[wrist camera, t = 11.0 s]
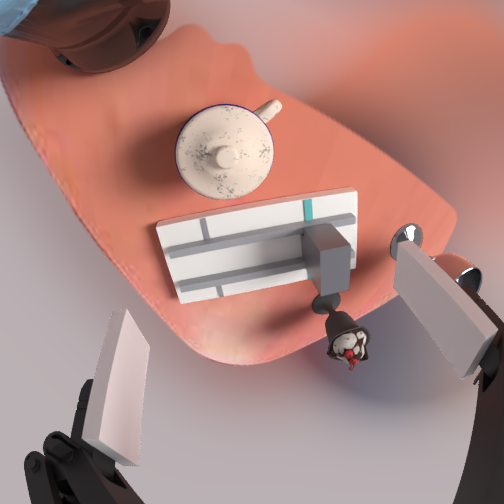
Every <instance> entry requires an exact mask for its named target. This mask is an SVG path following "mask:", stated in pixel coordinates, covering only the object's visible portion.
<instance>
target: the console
mask: <svg viewBox="0 0 504 504" xmlns="http://www.w3.org/2000/svg"><path fill="white" fill-rule="evenodd" d="M330 223H331V224H332V225H333V226H334V227H335V228H336V229H337V230H338V231H339V232H340V233H341V235H342V236H343V237H344V238H345V239H346V240H347V241H348V242H349V243H350V244H351V263H350V270H351V269H355V268H356V249H357V191H356V190H355V189H353V188H352V187H346V188H339V189H332V190H325V191H318V192H312V193H305V194H299V195H293V196H287V197H281V198H275V199H269V200H263V201H257V202H252V203H246V204H241V205H236V206H230V207H225V208H220V209H215V210H210V211H205V212H200V213H195V214H190V215H185V216H181V217H176V218H171V219H167V220H162V221H158V223H157V226H156V230H157V233H158V237H159V240H160V243H161V246H162V250H163V253H164V256H165V259H166V262H167V265H168V268H169V271H170V274H171V277H172V280H173V283H174V286H175V289H176V292H177V295H178V297H179V300H180V303H181V304H184V303H189V302H195V301H201V300H206V299H212V298H217V297H224V296H228V295H233V294H238V293H243V292H248V291H253V290H258V289H263V288H268V287H273V286H278V285H283V284H288V283H292V282H297V281H302V280H306V279H311V278H310V276H309V274H308V272H307V270H306V262H305V260H304V258H303V257H302V247H301V234H303V233H304V228H308V227H313V226H319V225H324V224H330Z"/></svg>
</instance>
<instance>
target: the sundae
mask: <svg viewBox="0 0 504 504" xmlns="http://www.w3.org/2000/svg"><path fill="white" fill-rule="evenodd" d="M339 304H340V295H339V294H338V293H333V294H329V295H325V296H320V294H319V295H318V296H317V297H316V298H315V300H314V302H313V310H314V311H315V312H316V313H318V314H328V313H329V316H328V318H327V320H326V322H325V327H326V333H327V336H328V339H329V343H330V344H329V347H328V352H327V355H328V356H329V357H330V358H332V359H335V360H343V361H345V362H346V363H349V364H350V365H351V367H350V368H349V369H350V370H351V371H352V370H353V368H354V366H353V365H356V363H357V362H359V361H363V360H367V359H368V358H369V357H368V353H367V350H366V346H367V344H368V343H369V342H370V339H371V335H370V332H369V330H368V329H367V328H366V327H363V326H360V327H359V326H358V325H357V324H356V322H355V321H354V320H353V319H352V318H351V317H350V316H349V315H348V314H347V313H346V312H344V311H337V312H336V311H335V309H336V308H337V307H338V306H339ZM352 366H353V368H352Z"/></svg>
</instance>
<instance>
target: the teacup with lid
mask: <svg viewBox="0 0 504 504" xmlns="http://www.w3.org/2000/svg"><path fill="white" fill-rule="evenodd" d="M281 108H282V105H281V103H280V102H279V101H278V100H276V99H273V100H270V101H268V102H266V103H265V104H263V105H262V106H260V107H259V108H257V109H256V110H255V111H254V112H252V111H250V110H248V109H246V108H244V107H241V106H238V105H232V104H219V105H214V106H210V107H207V108H205V109H203V110H201V111H199V112H197V113H196V114H194V115H193V116H192V117H191V118H190V119H189V120H188V121H187V122H186V123H185V124H184V126H183V127H182V129H181V131H180V133H179V135H178V137H177V141H176V145H175V161H176V165H177V169H178V171H179V173H180V175H181V177H182V179H183V180H184V181H185V183H186V184H187V185H188V186H189V187H190V188H191V189H193V190H194V191H195V192H197V193H199V194H201V195H203V196H205V197H208V198H212V199H217V200H229V199H235V198H239V197H242V196H244V195H246V194H248V193H250V192H251V191H253V190H254V189H256V188H257V187H258V186H259V185H260V184H261V183H262V182H263V181H264V179H265V178H266V176H267V175H268V173H269V171H270V169H271V166H272V163H273V158H274V144H273V139H272V136H271V133H270V131H269V129H268V127H267V126H266V123H267V122H268V121H269V120H271V119H272V118H273V117H274V116H275V115H276V114H277V113H278V112H279V111H280V110H281Z"/></svg>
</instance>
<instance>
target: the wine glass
mask: <svg viewBox="0 0 504 504" xmlns="http://www.w3.org/2000/svg"><path fill="white" fill-rule="evenodd" d="M407 240H412V241H413V242H414V243H415V244H416V245H417V246H418V247H419V248H421V245H422V242H423V232H422V229H421V228H420V227H419V226H418V225H417V224H407V225H405V226H403V227H402V228H400V229H399V230H398V231H397V233H396V234H395V235H394V237H393V239H392V242H391V246H390V252H391V255H392V257H393V259H394V260H397V250H398V243H399V242H403V241H407ZM429 257H430V258H431V259H432V260H433V261H434V262H435V263H436V264H437V265H439V266H440V267H441V268H442V269H443V270H444V271H445V272H446V273H447V274H448V275H449V276H450V277H451V278H452V279H453V280H454V281H455V282H456V283H457V284H458V285H459V286H462V285H466V286H467V287H469V288H471V289H473V290H474V291H475V292H476V293H477V294H478V292H479V290H480V287H481V284H482V273H481V271H480V270H479V269H478V268H477V267H476V266H475V265H474V264H472V263H471V262H470V261H468V260H467V259H465V258H463V257H461V256H459V255H456V254H453V253H442V254H439V255H436V256H429Z"/></svg>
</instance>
